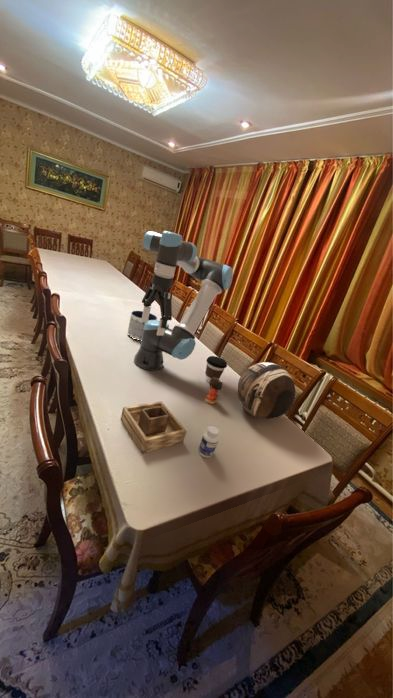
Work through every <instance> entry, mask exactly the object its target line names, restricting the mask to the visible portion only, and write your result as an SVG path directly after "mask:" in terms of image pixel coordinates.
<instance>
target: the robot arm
mask: <svg viewBox="0 0 393 698" xmlns="http://www.w3.org/2000/svg"><path fill="white" fill-rule="evenodd" d="M142 245H143V247H144V249H145V250H147V251H149V252H152V253H155V254H157V256H156V260H155V261H156V262H155V265H154V269H153V272H154V273H153V274H152V279H151V283H150V282H149V285H148V288H147V291H146V292H145V293H144V296H143V297H142V301H141V303H142V305H143V310H142V311H143V314H142V319H141V322H146V323H145V327H144V331H143V336H142V341H140V345H139V346H140V347H139V348H138V350H137V352H136V354H135V355H134V358H133V363H134V362H135V363H136V364H137V365H138V367H139V366H140V367H139V368H141V369H144V370H149V371H158V370H161V369H162V368H163V365H164V354H163V353H165V354H167V355H170V356H171V357H173V358H174V359H175V358H176V359H178V360H185V359H187V358H188V357H189V356H190V355H191V354H192V353H193V351H194V350H195V347H196V344H197V343H196V340H195V339H196V335H195V333H196V331H197V329H198V328H199V326H200V324H201V322H202V321H203V319H204V317H205V315H206V314H207V312H208V311H209V308H210V307H211V305H212V303H213V302H214V300H215V298H216V297H217V295H220V294H222V292H223V291H227V290H229V289H230V287H231V285H232V281H233V275H234V272H233V268H232V267H231V266H229V265H226V264H223V263H221V262H218V261H215V260H211V259H208V258H204V257H200V256H197V255H198V249H197V247H196V245H195V244H194V243H192V242H190V241H185V240H183V236H182V235H181V234H178V233H175V232H172V231H167V230H163V231H162V233H158V232H157V231H151V230H150V231H146V233H145V234H144V236H143V238H142ZM177 266H178V267H180V268H182V270H183V271H184V272H185V273H187V274H188V275H189V276H192V277H193V278H195V279H196V280H198V281H200V282H201V285H202V286H201V287H200V289H199V290H198V292H197V294H196V295H195V298H194V299H193V301H192V303H191V304H190V306H189V308H188V309H187V310H186V312H185V314H184V316H183V317H182V319H181V321H180V322H179V324H176V325H174V326H173V328H170V323H168V321H172V320H173V317H172V316H173V311H172V309H173V308H172V306H173V305H172V300H173V294H172V293H171V292H168V291H169V289H171V288H172V286H173V281H174V279H173V278H174V277H175V272H176V267H177ZM156 300H157V302H158V305H159V308H160V316H161V317H160V318H159V320H158V319H157V320H150V321H148V318H149V314H150V313H151V310H152V309H151V308H152V304H153V303H155V301H156ZM135 363H134V364H135ZM136 364H135V365H136ZM137 365H136V366H137Z"/></svg>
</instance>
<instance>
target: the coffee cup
mask: <svg viewBox="0 0 393 698" xmlns="http://www.w3.org/2000/svg"><path fill="white" fill-rule="evenodd" d="M227 367H228V364H227V361H226V360H225V359H224V358H222V357H220V356H214V355H211V356H208V357H207V358H206V368H205V377H204V379H205V381H206V382H208V384H210V380H211V379H212V378H213V377H216V378H218V379H219V380H220V379H221V376H222V375H223V373H224V371H225V369H226V368H227Z"/></svg>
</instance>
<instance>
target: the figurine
mask: <svg viewBox="0 0 393 698" xmlns="http://www.w3.org/2000/svg"><path fill="white" fill-rule="evenodd" d="M222 389H223V381H221V380H220V378H219V379H218V378H216V377H213V378H212V379H211V380H210V383H209V392H208V393H207V395H206V398H204V400H203V401H204V402H205V403H207V404H210V405H214V404H217V401H218V399H219V394H218V393H219V391H221V390H222Z"/></svg>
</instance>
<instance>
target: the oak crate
mask: <svg viewBox="0 0 393 698" xmlns="http://www.w3.org/2000/svg"><path fill="white" fill-rule="evenodd" d="M157 406H162V407H163V408H164V410H165V411H166V412H167V413H168V414H169V420H168V423H167V427H166V431H165V432H162V433H157V434H153V435H149V436H145V435H144V433H143V432H142V430H141V429H140V427H139V426H138V422H139V418H140V413H141V409H145V408H151V407H157ZM120 420H121V421H122V424H123V425H124V426H125V428H126V430H127V431H128V432H129V434H130V436H131V437H132V439H133V440H134V442H135V444H136V446H137V447H138V449H139V450H140V452H141V453H142V454H145V453H149V452H152V451H155V450H159V449H163V448H166V447H171V446H173V445H178V444H180V443H181V444H182V443H184V440H185V438H186V434H187V429H186V428H185V427H184V426H183V425H182V423H181V422H180V421H179V420H178V419H177V417H176V416H175V415H174V414H173V412H171V410H170V409H169V408H168V407H167V406H166V404H165V403H164V402H163V401H155V402H151V403H150V402H149V403H143V404H138V405H130V406H124V407H122V411H121V416H120Z"/></svg>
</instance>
